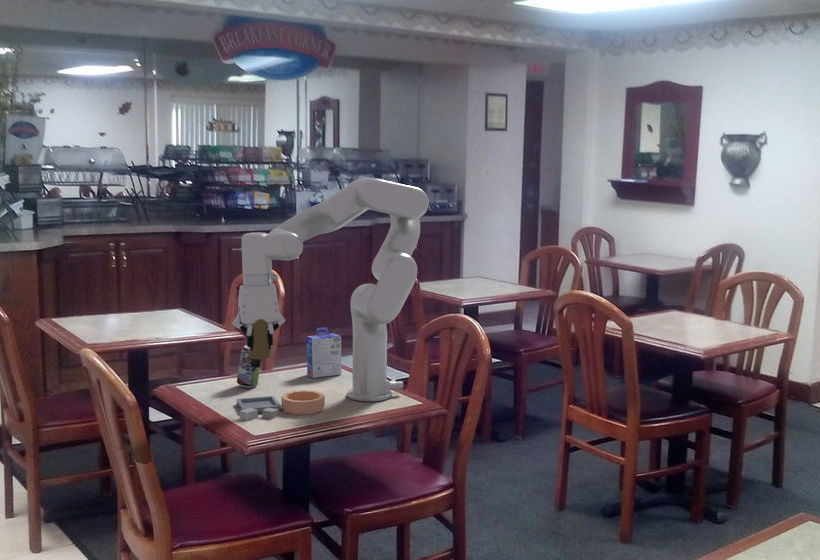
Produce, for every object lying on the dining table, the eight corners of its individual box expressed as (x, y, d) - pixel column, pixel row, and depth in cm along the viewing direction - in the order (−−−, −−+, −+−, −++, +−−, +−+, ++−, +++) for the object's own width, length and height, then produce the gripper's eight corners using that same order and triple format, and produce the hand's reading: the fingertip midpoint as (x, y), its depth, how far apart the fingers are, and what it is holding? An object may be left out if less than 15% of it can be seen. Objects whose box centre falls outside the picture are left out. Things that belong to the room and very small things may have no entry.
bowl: (318, 401, 237) (318, 389, 236) (328, 412, 226) (328, 399, 226) (278, 404, 233) (278, 392, 232) (287, 416, 223) (287, 403, 222)
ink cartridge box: (335, 371, 270) (335, 325, 268) (342, 375, 266) (342, 328, 264) (305, 374, 266) (305, 328, 264) (312, 378, 261) (312, 331, 259)
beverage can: (234, 385, 252) (233, 344, 251) (259, 382, 255) (258, 342, 254) (239, 390, 247) (239, 349, 245) (265, 388, 250) (264, 347, 248)
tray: (273, 401, 236) (273, 395, 236) (281, 411, 227) (281, 405, 227) (236, 404, 233) (236, 398, 233) (242, 414, 224) (242, 409, 223)
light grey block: (250, 415, 223) (250, 407, 223) (257, 418, 222) (257, 409, 221) (239, 419, 221) (239, 410, 220) (247, 421, 219) (246, 412, 219)
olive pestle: (261, 360, 224) (260, 318, 223) (243, 357, 227) (242, 316, 226) (276, 355, 229) (275, 314, 228) (258, 352, 232) (257, 312, 231)
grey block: (278, 416, 223) (278, 409, 223) (273, 419, 221) (273, 411, 221) (268, 415, 224) (268, 407, 224) (262, 417, 222) (262, 410, 222)
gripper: (286, 276, 232) (288, 343, 234) (223, 280, 226) (225, 348, 229) (292, 280, 225) (294, 349, 227) (227, 284, 219) (230, 355, 222)
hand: (260, 348), depth 228 cm, fingers closed on olive pestle, 3 cm apart
